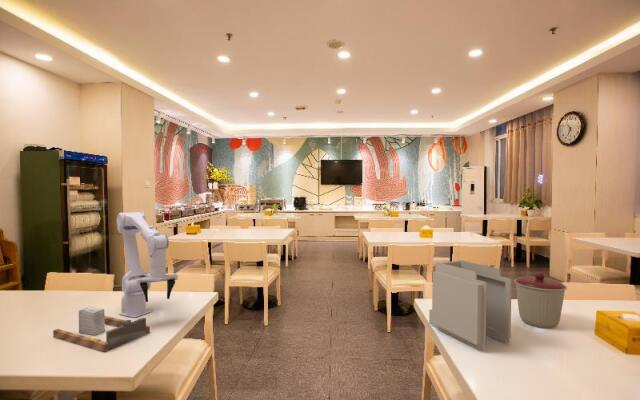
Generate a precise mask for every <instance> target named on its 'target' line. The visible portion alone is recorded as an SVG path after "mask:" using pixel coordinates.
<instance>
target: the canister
mask: <svg viewBox="0 0 640 400" xmlns="http://www.w3.org/2000/svg"><path fill="white" fill-rule="evenodd" d="M513 282H514V284H515V289H516V298H517V306H518V313H519V317H520V319H521V320H522V321H523V322H524V323H526V324H527V325H530V326H533V327H537V328H544V329H545V328H547V329H553V328H556V327H557V326H559V324H560V320H561V315H562V309H563V305H564V297H565V292H566V290H567V289H568V286H567V285H566V284H564V283H563V282H560V281H558V280H557V279H552V278H548V277H546V275H545V273H544V272H540V271H536V272H535V273H534V276H532V275H531V276H529V275H528V276H527V275H525V276H519V277H518V278H515V279H514V280H513Z"/></svg>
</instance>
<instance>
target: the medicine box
mask: <svg viewBox="0 0 640 400" xmlns="http://www.w3.org/2000/svg"><path fill="white" fill-rule="evenodd" d="M105 316H106V315H105V308H100V307H95V306H88V307H85V308H81V309H78V334H79V333H80V334H84V335H90V336H97V335H100V334H102V333H104V332H105V331H106V330H105V328H106V326H105V325H106V324H105Z"/></svg>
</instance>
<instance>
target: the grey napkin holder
mask: <svg viewBox="0 0 640 400" xmlns="http://www.w3.org/2000/svg"><path fill="white" fill-rule="evenodd" d="M501 270H502V269H501V268H497V267H494V266H490V265H489V266H488V265H484V264H481V263H477V262H471V261H467V260H463V259H457V260H454V261H444V262H439V261H435V271H432V283H431V284H432V293H431V294H432V296H431V297H432V298H431V299H432V300H431V301H432V302H431V309H429V311H428V312H429V313H428V314H429V316H428V321H429V322H428V323H429V325H431V327H433V328H434V329H437V330H439V331H440V332H442V333H444V334H447V335H449V336H450V337H452V338H454V339H457V340H458V341H460V342H463V343H467V342H468V343H470V344H473V345H475V346H476V347H479V348H480V349H482V350H486V347H487V346H486V345H487V343H486V341H487V338H488V337H489V336H492V337H494V338H496V339H497V340H501V341H503V342H505V343H507V344H510V341H511V340H510V339H511V336H512V335H511V334H512V333H511V331H512V329H511V327H512V280H513V279H512V278H509V277H505V276H502V275H501V274H502V273H501V272H502V271H501Z"/></svg>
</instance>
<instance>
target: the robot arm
mask: <svg viewBox="0 0 640 400" xmlns="http://www.w3.org/2000/svg"><path fill="white" fill-rule="evenodd" d="M146 219H147V218H146V215H145V213H144V212H143V211H137V212H119V213H118V215H117V216H116V227H117V231H118V233H119V234H121V235H122V240H123V246H124V253H125V258H126V259H125V260H126V266H127V272H126V273H125V274H124V275H123V277H122V278H121V291H122V293H124V294H123V295H122V297H121V301H120V302H121V312H120V313H119V315H120V316H124V317H129V318H133V319H134V318H138V317H140V316H144V315H146V314H148V313H151V310H148V309H147V303H148V302H149V296H148V294H149V292H148V291H149V290H150V288H151V285H152V284H151V283H157V282H158V283H159V282H166V284H167V285H166V287H167V288H166V289H167V291H166V292H167V293H166V299H167V300H170V299H171V293H172V290H173V288H174V287H175V284H176V281H178V280H179V274H177V273H176V274H175V273H174V274H173V273H172V274H166V273H167V270H166V269H167V267H166V266H167V259H166V258H167V249H168V248H169V245H170V241H169V240H170V239H169V236H168V235H167V234H161V233H160V232H159V231H158V230H157V228H155V227H154V225H149V224H148V222H147V221H146ZM139 232H140V236H141V238H142V239H143V240H144V241H145V242H146V247H147V252H148V255H149V272H147V271H145V270H143V269H142V267H141V265H142V264H141V261H140V254H139V248H138V247H139V246H138V242H137V233H139Z"/></svg>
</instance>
